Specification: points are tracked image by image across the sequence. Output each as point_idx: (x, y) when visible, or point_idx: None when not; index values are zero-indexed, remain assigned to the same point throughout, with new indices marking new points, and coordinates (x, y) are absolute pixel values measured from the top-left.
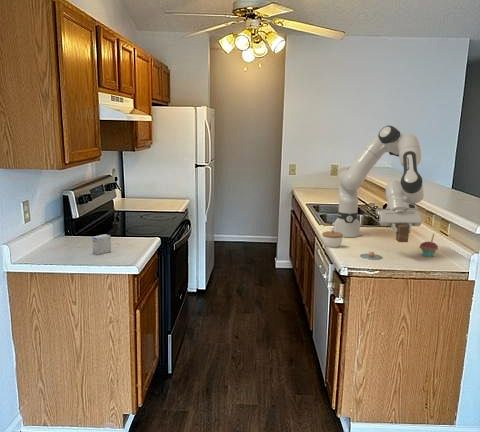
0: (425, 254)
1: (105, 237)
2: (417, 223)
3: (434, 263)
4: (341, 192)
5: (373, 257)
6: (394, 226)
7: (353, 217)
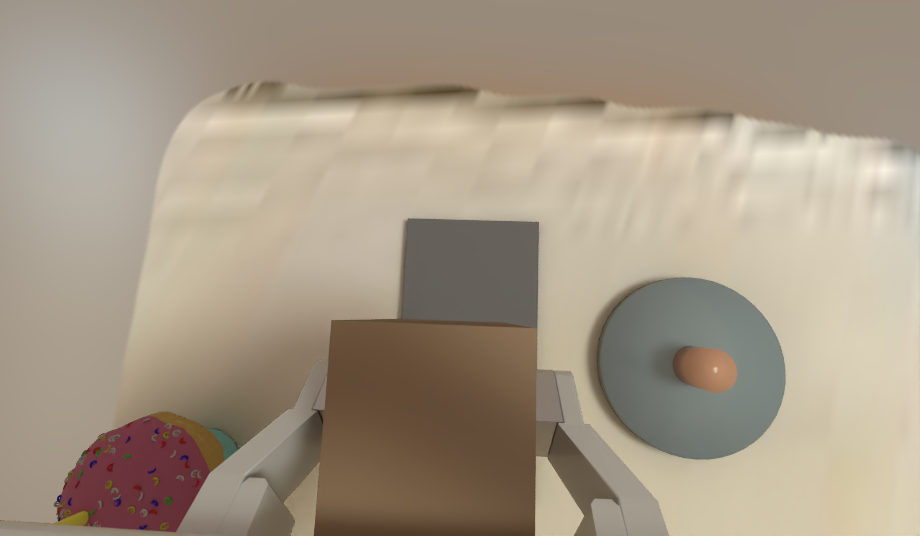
0: (229, 446)
1: None
2: (29, 529)
3: (263, 258)
4: None
5: (679, 343)
6: (607, 463)
7: None
